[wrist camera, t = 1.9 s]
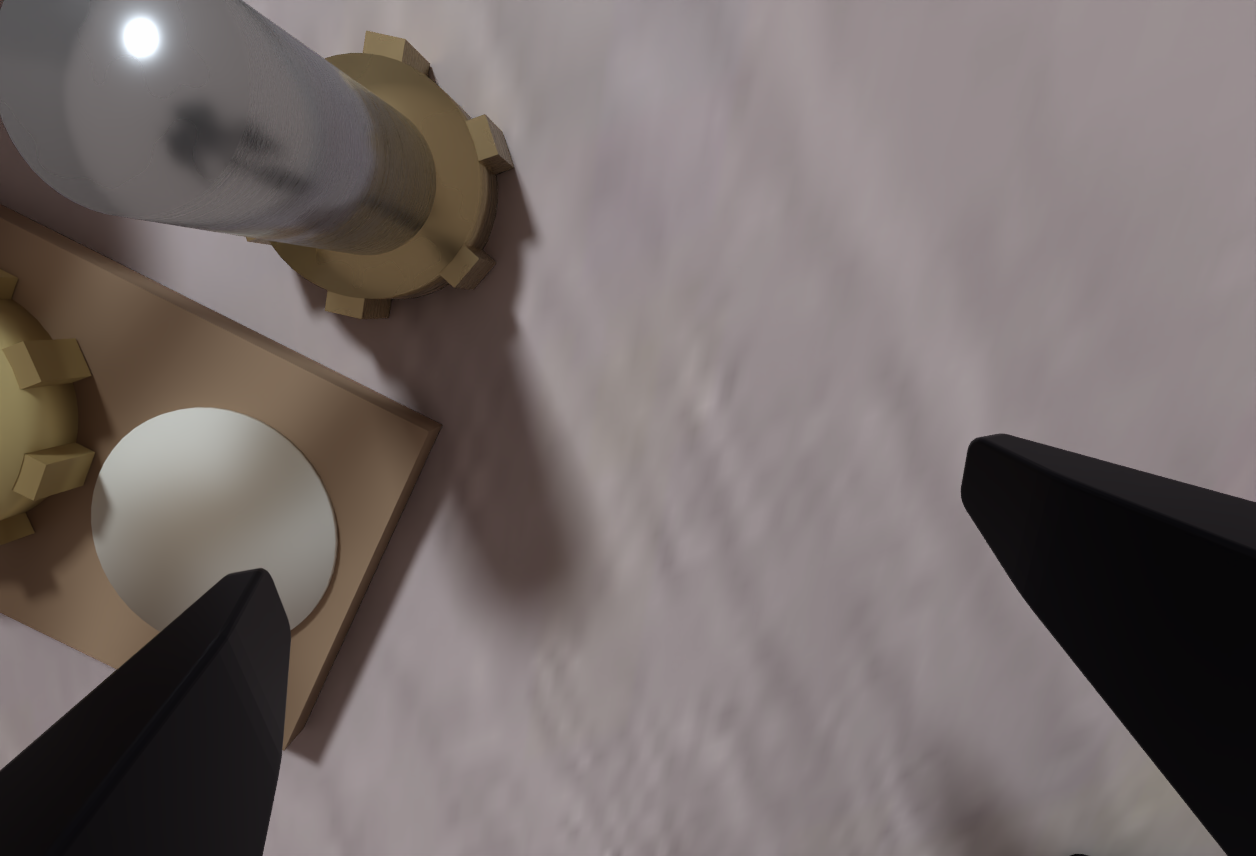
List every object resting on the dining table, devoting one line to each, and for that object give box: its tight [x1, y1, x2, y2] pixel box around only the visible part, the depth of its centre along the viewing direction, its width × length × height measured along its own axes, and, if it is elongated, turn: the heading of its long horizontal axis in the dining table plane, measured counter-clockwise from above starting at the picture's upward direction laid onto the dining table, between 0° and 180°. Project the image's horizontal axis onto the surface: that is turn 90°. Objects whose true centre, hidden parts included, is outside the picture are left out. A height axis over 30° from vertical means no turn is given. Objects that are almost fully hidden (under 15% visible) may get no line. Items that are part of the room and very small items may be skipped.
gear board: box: [0, 204, 442, 750], centre depth 20 cm, size 17×11×5 cm, turn 63°
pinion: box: [0, 0, 514, 319], centre depth 16 cm, size 7×7×10 cm
